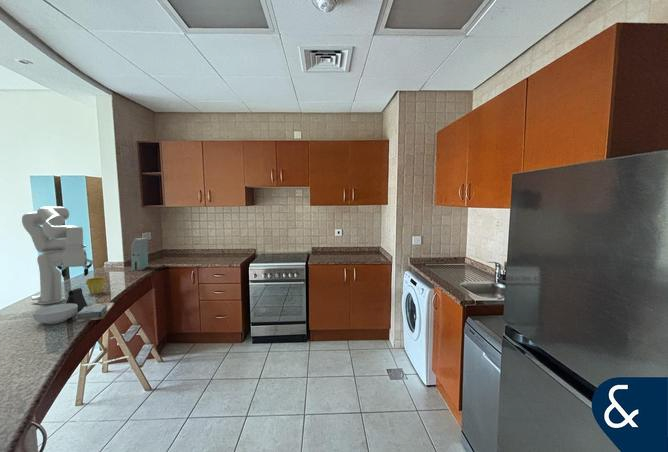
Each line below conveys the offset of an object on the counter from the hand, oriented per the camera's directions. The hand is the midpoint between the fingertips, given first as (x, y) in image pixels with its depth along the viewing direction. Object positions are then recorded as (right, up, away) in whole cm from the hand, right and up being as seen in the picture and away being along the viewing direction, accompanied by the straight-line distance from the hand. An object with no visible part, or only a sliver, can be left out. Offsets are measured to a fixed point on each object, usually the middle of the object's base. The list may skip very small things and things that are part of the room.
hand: (75, 276), depth 167 cm
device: (-40, -13, +113) cm, 121 cm away
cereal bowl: (+5, -21, -17) cm, 28 cm away
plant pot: (-16, -18, +34) cm, 41 cm away
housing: (+19, -20, -10) cm, 29 cm away
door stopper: (-1, -20, +1) cm, 20 cm away
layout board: (+15, -21, -3) cm, 26 cm away
